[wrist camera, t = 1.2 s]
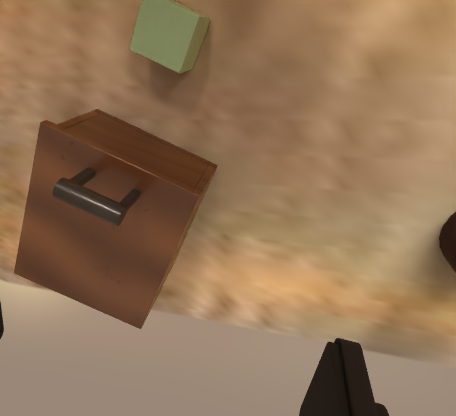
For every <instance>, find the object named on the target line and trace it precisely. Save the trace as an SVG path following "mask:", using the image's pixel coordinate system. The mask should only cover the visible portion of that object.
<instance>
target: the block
mask: <svg viewBox="0 0 456 416" xmlns="http://www.w3.org/2000/svg"><path fill="white" fill-rule="evenodd" d="M210 20H211V19H210V18H209V17H207V16H205V15H203V14H201V13H199V12H197V11H195V10H193V9H191V8H189V7H187V6H185V5H183V4H181V3H179V2H176V1H174V0H142V2H141V6H140V9H139V13H138V17H137V21H136V24H135V28H134V32H133V35H132V39H131V43H130V46H129V50H131V51H133V52H135V53H137V54H139V55H141V56H143V57H145V58H148V59H150V60H152V61H154V62H156V63H158V64H160V65H162V66H164V67H166V68H168V69H170V70H172V71H175V72H177V73H179V74H180V73H183V72H185V71H188V70H191V69H193V67H194V64H195V61H196V59H197V56H198V53H199V50H200V48H201V45H202V42H203V39H204V36H205V34H206V31H207V28H208V25H209V23H210Z"/></svg>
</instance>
